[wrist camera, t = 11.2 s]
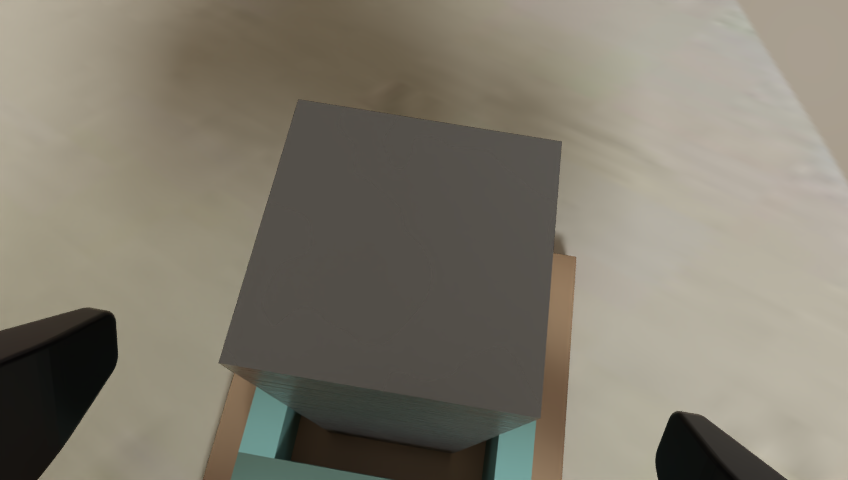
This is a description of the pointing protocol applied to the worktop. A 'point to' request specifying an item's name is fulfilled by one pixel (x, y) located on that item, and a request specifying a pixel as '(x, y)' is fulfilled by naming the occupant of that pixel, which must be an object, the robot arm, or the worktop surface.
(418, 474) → the bit holder
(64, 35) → the worktop surface
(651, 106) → the worktop surface
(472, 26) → the worktop surface
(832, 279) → the worktop surface
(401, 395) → the square bit
